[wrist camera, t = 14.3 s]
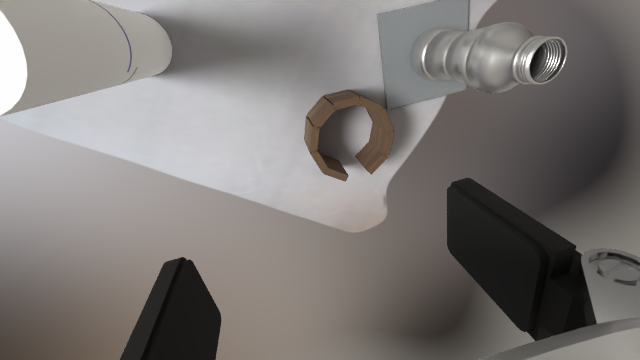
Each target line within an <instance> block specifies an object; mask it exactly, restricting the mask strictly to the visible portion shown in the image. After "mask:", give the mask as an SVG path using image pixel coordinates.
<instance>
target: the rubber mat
mask: <svg viewBox="0 0 640 360" xmlns="http://www.w3.org/2000/svg"><path fill="white" fill-rule="evenodd" d="M468 6H469V0H438V1H433V2H429V3H425V4H420V5H416V6H412V7H407V8H403V9H399V10H394V11H390V12H386V13H381V14H377V17H378V28H379V38H380V48H381V58H382V68H383V78H384V88H385V98H386V108H387V110H389V109H393V108H396V107H400V106H404V105H408V104H412V103H416V102H420V101H424V100H428V99H432V98H436V97H439V96H443V95H447V94H451V93H455V92H459V91H463V90H466V84H464V83H461V82H458V81H454V80H436V81H429V80H425V79H423V78H421V77H420V76H418V75H417V74H416V73H415V72H414V70H413V69H412V66H411V61H410V55H411V50H412V47H413V45H414V43H415V41H416V40H417V38H418V37H419V36H420V35H421V34H423V33H424V32H426V31H428V30H430V29H433V28H436V27H443V28H448V29H452V30H455V31H468Z"/></svg>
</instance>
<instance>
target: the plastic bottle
mask: <svg viewBox="0 0 640 360" xmlns="http://www.w3.org/2000/svg"><path fill="white" fill-rule="evenodd" d="M567 54H568V49H567V45H566V43H565V41H564V40H563V39H562V38H560V37H556V36H550V37H546V36H534V35H533V34H532V33H531V31H530V30H529V29H528V28H527V27H525V26H523V25H520V24H518V23H515V22H504V23H498V24H495V25H491V26H488V27H485V28H481V29H477V30H470V31H455V30H452V29H448V28H443V27H436V28H433V29H430V30H428V31H426V32H424V33H423V34H421V35H420V36H419V37H418V38H417V40H416V41H415V43H414V45H413V47H412V50H411V55H410V61H411V66H412V69H413V70H414V72H415V73H416V74H417V75H418V76H420V77H421V78H423V79H425V80H429V81H436V80H454V81H458V82H461V83H464V84H466V85H468V86H471V87H472V88H475V89H477V90H479V91H481V92H484V93H489V94H493V93H500V92H505V91H507V90H510V89H512V88H513V87H515V86H517V85H518V84H538V85H539V84H545V83H548V82H550V81H551V80H553V79H554V78H555V77H556V76H557V75H558V74H559V73H560V72H561V70H562V68H563V67H564V64H565V62H566V59H567Z"/></svg>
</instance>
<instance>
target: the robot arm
mask: <svg viewBox="0 0 640 360" xmlns="http://www.w3.org/2000/svg"><path fill="white" fill-rule="evenodd" d="M447 246H448V249H449V251H450V253H451V254H452V255H453V256H454V257H455V259H456V260H457V261H458V262H459V263H460V264H461V265H462V266H463V267H464V268H465V270H466V271H467V272H468V273H469V274H470V275H471V276H472V277H473V279H474V280H475V281H476V282H477V283H478V284H479V285H480V286H481V287H482V288H483V289H484V291H485V292H486V293H487V294H488V295H489V296H490V297H491V298H492V300H493V301H494V302H495V303H496V304H497V305H498V306H499V307H500V308H501V309H502V311H503V312H504V313H505V314H506V315H507V316H508V317H509V318H510V319H511V321H512V322H513V323H514V324H515V325H516V326H517V327H518V328H519V329H520V330H521V331H524V332H526V331H527V332H528V333H529V334H530V336H531V337H532V338H533V339H534V340H535V342H532V343H529V344H525V345H522V346H519V347H516V348H513V349H510V350H507V351H504V352H500V353H497V354H495V355H491V356H488V357H485V358H482V359H479V360H640V257H638V256H636V255H633V254H630V253H627V252H624V251H620V250H615V249H607V248H598V249H591V250H589V251H586V252H584V254H583V255H582V254H580V253H579V252H577V251H576V250H575V249H576V245H574V244H572V243H571V242H569V241H568V240H566V239H565V238H563V237H561V236H560V235H558V234H557V233H555V232H553V231H552V230H550V229H549V228H547V227H545V226H544V225H543V224H541V223H540V222H538V221H536V220H535V219H533V218H531V217H530V216H528V215H527V214H525V213H524V212H522V211H521V210H519V209H518V208H516V207H514V206H513V205H511V204H510V203H508V202H507V201H505V200H503V199H502V198H500V197H499V196H497V195H496V194H494V193H493V192H491V191H489V190H488V189H486V188H485V187H483V186H482V185H480V184H478V183H477V182H475V181H474V180H472V179H470V178H465V179H461V180H458V181H454V182H452V184H451V186H450V187H448V189H447ZM220 326H221V314H220V311H219V309H218V308H217V306H216V304H215V302H214V300H213V299H212V296H211V295H210V293H209V291H208V289H207V287H206V285H205V284H204V282H203V280H202V278H201V276H200V274H199V272H198V271H197V269H196V267H195V265H194V263H193V262H192V261H191V260H186V259H185V258H184V257H181V258H178V259H174V260H171V261H167V262H165V263H164V265H163V267H162V269H161V271H160V273H159V276H158V278H157V280H156V282H155V284H154V286H153V288H152V291H151V293H150V295H149V297H148V299H147V301H146V304H145V306H144V308H143V310H142V313H141V315H140V317H139V319H138V321H137V324H136V326H135V328H134V330H133V332H132V334H131V336H130V339H129V341H128V343H127V345H126V348H125V349H124V352H123V354H122V356H121V358H120V360H215V359H216V352H217V346H218V339H219V333H220ZM551 336H552V337H551ZM548 337H549V338H548Z"/></svg>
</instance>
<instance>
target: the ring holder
mask: <svg viewBox="0 0 640 360" xmlns="http://www.w3.org/2000/svg"><path fill="white" fill-rule="evenodd" d="M358 104H359V105H361V106H364V107H366V109H367V111H368V113H369V116H370V118H371V120H372V122H373V123H372V129H371V134H370V140H369V142H368V143H367V144H366V145H365V146H364V147H363V149H362V150H361V151H360V152H359V153H358V154H357V155H356V156H355V157H356V158H357V159H358V160H359V162H360V163H361V164H362V165H363V166H364V168H365V169H366V170H367V171H368V172H369V173H370V174H372V173H373V172H374V171H375V170H376V169H377V168H378V167H379V166H380V165H381V164H382V163H383V162H384V161H385V160H386V159H387V158H388V156H387V155H390V150H391V145H392V141H393V136H394V131H393V130H394V128H393V126H392V124H391V121H390V119H389V117H388V115H387V112H386V110H385V108H383V106H381V105H379V104H377V103H375V102H373V101H371V100H369V99H367V98H365V97H362V96H360V95H358V94H356V93H354V92H352V91H350V90H344V91H340V92H336V93H332V94H328V95H324V97H323V96H322V98H321V99H320V100H319V101H318V102H317V103H316V105H315V106H314V107H313V108H312V109H311V111H310V112H309V113H308V114H307V116H306V124H305V136H304V140H305V143H306V145H307V147H308V149H309V152H310V154H311V155H312V157H313V159H314V160H315V162H316V163H317V165H318V166H319V168H320V170H321V171H322V173H324V174H325V175H328V176H331V177H334V178H337V179H340V180H343V181H345V182H346V180H347V178H348V174H347V173H346V171H345V169H344V168H343V166H342V165H341V163H340V162H339V161H338V160H335V159H333V158H330V157H327V156H324V155H322V154H320V152H319V151H318V149H317V148H318V139H319V130H320V127H321V126H322V125H323V124H324V123H325V122H326V120H327V119H328V118H329V117H330V116H331V115H332V114H333V112H334V111H335V110H338V109H342V108H346V107H350V106H354V105H358Z"/></svg>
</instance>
